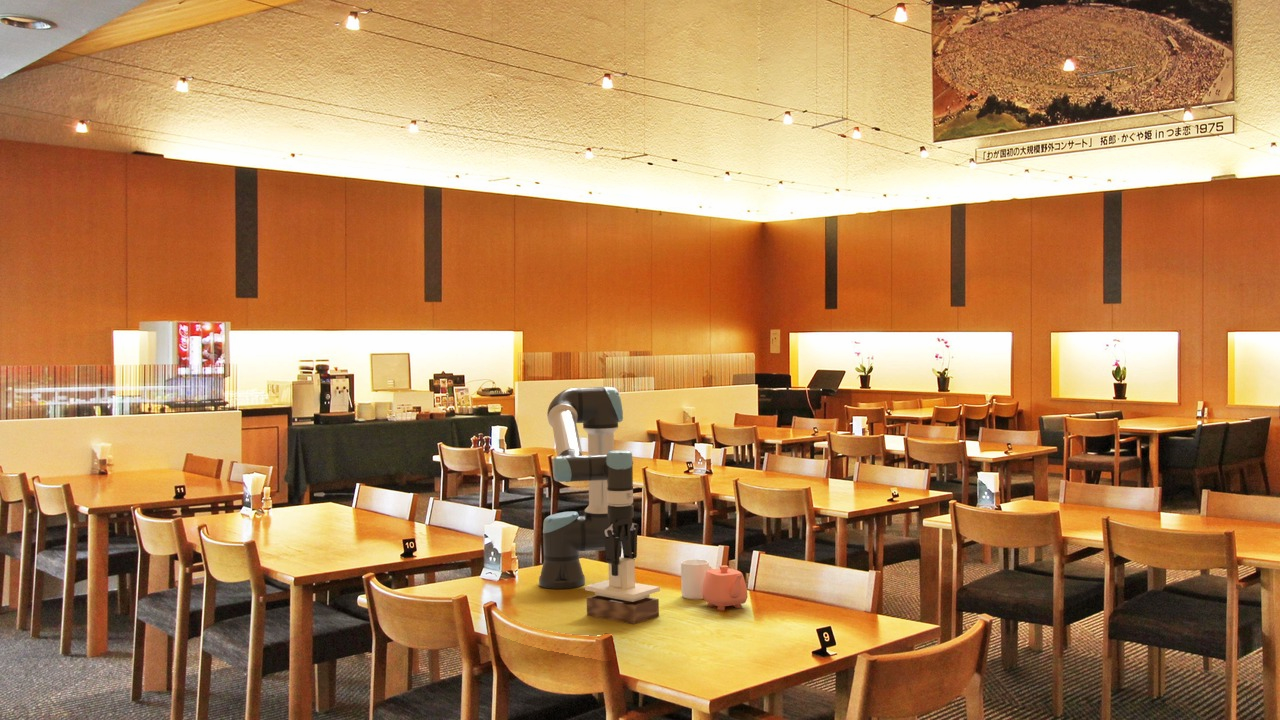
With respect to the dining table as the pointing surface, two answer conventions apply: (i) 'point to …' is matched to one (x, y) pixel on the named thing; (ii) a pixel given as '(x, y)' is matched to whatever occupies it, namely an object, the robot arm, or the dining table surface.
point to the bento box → (623, 609)
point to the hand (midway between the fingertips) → (622, 585)
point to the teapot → (724, 588)
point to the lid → (623, 584)
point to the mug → (693, 577)
